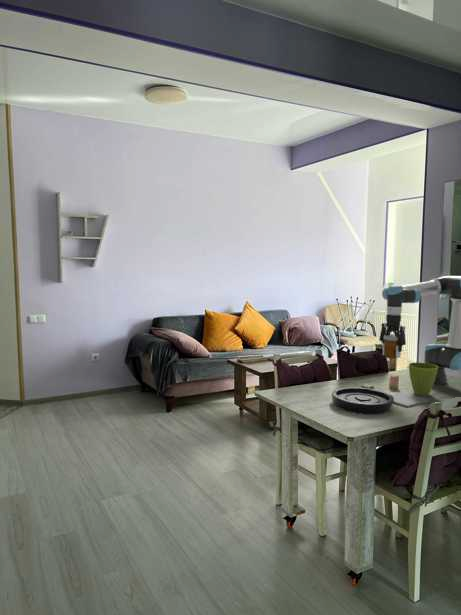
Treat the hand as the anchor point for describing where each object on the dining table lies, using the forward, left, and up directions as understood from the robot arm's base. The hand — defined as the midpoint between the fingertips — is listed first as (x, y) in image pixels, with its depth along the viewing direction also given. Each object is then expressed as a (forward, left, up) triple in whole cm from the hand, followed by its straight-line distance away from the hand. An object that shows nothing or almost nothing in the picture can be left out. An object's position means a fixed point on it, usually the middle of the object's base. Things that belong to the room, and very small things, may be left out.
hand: (391, 355), depth 257 cm
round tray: (+28, +6, -22) cm, 36 cm away
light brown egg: (-14, -7, -21) cm, 27 cm away
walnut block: (+10, -6, -22) cm, 25 cm away
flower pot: (-17, +9, -22) cm, 29 cm away
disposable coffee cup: (0, 0, -1) cm, 1 cm away
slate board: (+2, +12, -21) cm, 24 cm away
